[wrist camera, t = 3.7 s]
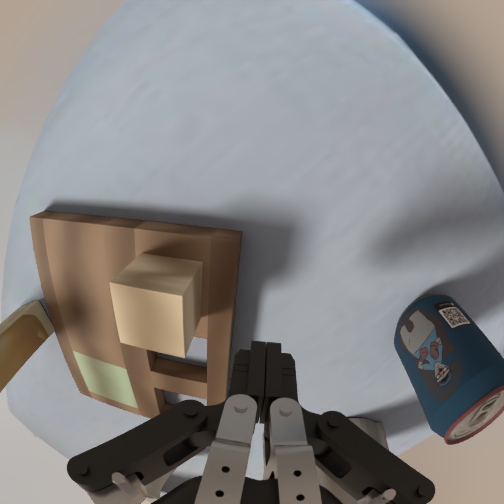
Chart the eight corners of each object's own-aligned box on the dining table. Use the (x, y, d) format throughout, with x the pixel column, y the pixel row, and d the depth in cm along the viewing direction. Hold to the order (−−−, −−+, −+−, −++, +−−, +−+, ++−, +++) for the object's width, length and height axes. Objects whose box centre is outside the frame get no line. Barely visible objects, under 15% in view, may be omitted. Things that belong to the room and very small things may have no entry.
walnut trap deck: (242, 231, 19) (238, 241, 17) (225, 421, 28) (222, 434, 26) (43, 211, 20) (29, 217, 18) (86, 383, 28) (80, 392, 26)
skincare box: (35, 334, 26) (-16, 390, 15) (18, 306, 25) (-38, 358, 14) (58, 329, 25) (-1, 396, 14) (39, 298, 24) (-27, 359, 12)
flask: (160, 431, 30) (141, 487, 21) (197, 453, 32) (184, 506, 23) (135, 436, 33) (115, 485, 23) (169, 457, 34) (155, 504, 25)
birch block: (202, 261, 18) (182, 296, 14) (201, 317, 20) (184, 357, 15) (141, 253, 18) (109, 282, 14) (145, 306, 20) (120, 342, 16)
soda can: (440, 343, 22) (490, 430, 11) (383, 354, 22) (421, 460, 11) (459, 284, 19) (535, 367, 8) (397, 291, 20) (467, 401, 9)
